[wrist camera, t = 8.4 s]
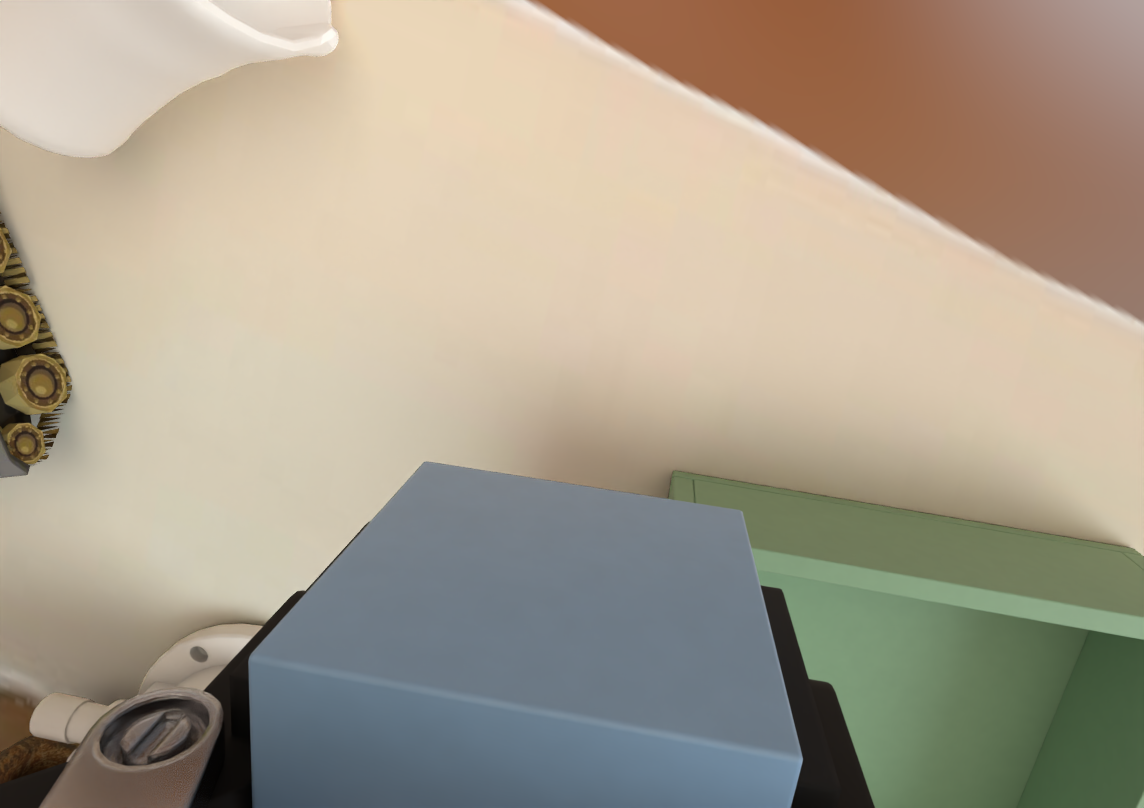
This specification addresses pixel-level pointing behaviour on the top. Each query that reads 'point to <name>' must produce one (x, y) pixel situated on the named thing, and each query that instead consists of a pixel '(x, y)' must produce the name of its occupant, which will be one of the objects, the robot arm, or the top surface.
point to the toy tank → (25, 371)
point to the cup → (133, 60)
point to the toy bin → (959, 647)
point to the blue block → (527, 658)
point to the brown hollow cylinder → (32, 757)
